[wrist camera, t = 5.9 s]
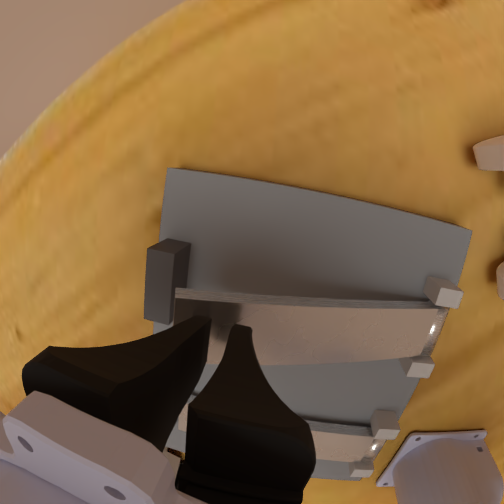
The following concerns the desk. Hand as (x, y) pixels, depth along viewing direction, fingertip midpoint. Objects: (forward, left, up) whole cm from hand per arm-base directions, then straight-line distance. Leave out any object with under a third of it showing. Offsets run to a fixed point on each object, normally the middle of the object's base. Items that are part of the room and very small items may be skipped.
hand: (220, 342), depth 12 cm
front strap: (-5, 0, -4) cm, 6 cm away
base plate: (-4, +5, -8) cm, 10 cm away
